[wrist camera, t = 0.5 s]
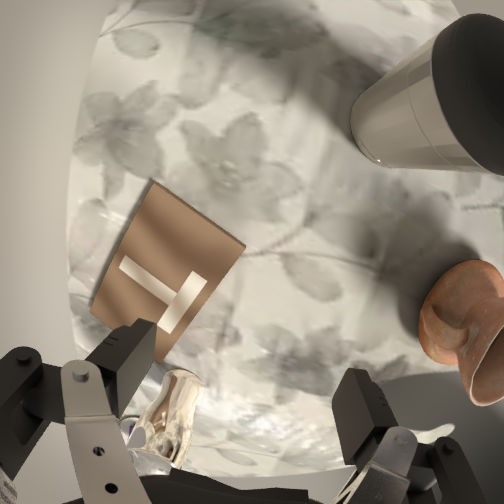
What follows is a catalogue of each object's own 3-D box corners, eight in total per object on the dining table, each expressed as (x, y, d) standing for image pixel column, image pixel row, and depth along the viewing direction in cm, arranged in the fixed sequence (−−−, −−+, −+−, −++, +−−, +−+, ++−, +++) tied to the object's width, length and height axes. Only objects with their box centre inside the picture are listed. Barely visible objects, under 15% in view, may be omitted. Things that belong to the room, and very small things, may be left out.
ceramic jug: (507, 270, 29) (569, 307, 15) (468, 355, 33) (512, 410, 19) (422, 234, 30) (496, 273, 16) (379, 340, 33) (417, 417, 20)
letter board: (157, 182, 30) (153, 183, 29) (246, 245, 31) (245, 248, 30) (93, 308, 35) (89, 311, 34) (162, 359, 36) (159, 364, 35)
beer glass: (155, 388, 38) (118, 463, 24) (167, 358, 36) (124, 439, 22) (198, 407, 39) (173, 486, 24) (214, 379, 37) (189, 467, 22)
